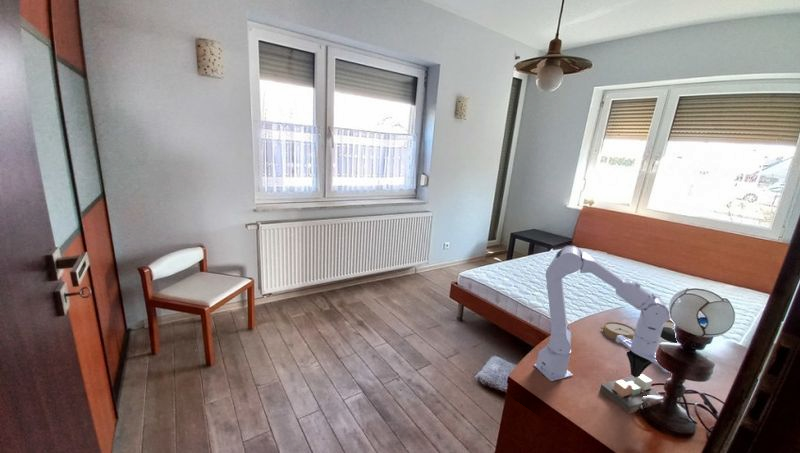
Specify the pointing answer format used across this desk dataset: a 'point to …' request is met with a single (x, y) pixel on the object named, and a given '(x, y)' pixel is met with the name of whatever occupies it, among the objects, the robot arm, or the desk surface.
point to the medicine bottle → (667, 335)
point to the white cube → (643, 382)
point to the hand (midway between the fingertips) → (635, 375)
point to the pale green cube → (634, 388)
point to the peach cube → (622, 388)
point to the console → (626, 402)
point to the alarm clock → (618, 330)
